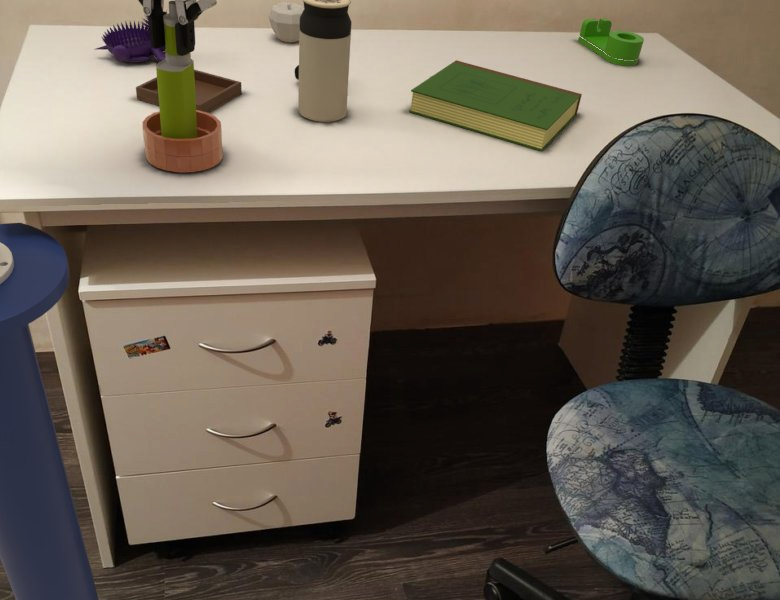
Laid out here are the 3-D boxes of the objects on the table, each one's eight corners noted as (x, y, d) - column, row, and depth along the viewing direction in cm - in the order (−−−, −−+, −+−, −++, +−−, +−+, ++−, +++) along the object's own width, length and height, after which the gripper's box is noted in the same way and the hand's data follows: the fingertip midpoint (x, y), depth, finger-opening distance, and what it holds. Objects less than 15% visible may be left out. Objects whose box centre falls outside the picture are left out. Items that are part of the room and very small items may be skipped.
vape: (201, 146, 118) (194, 1, 105) (184, 163, 113) (175, 12, 100) (177, 141, 118) (168, -4, 105) (159, 157, 114) (147, 7, 101)
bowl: (194, 181, 112) (192, 147, 108) (130, 161, 114) (126, 127, 111) (236, 153, 119) (235, 120, 116) (175, 135, 122) (172, 102, 119)
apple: (311, 47, 156) (312, 11, 152) (271, 46, 155) (271, 10, 150) (305, 33, 162) (306, -2, 158) (266, 32, 160) (266, -3, 156)
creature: (201, 66, 144) (196, -7, 136) (95, 67, 139) (84, -8, 131) (195, 48, 150) (190, -22, 142) (93, 49, 145) (82, -24, 137)
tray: (200, 117, 127) (199, 105, 126) (136, 99, 130) (135, 87, 129) (241, 93, 136) (241, 82, 135) (181, 77, 139) (180, 65, 138)
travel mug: (311, 126, 129) (314, 7, 117) (290, 107, 134) (291, -9, 122) (354, 119, 132) (362, 3, 120) (332, 101, 137) (337, -13, 125)
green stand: (644, 64, 167) (650, 41, 164) (615, 66, 164) (622, 43, 161) (604, 40, 177) (609, 18, 174) (576, 41, 174) (582, 19, 171)
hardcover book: (576, 115, 143) (581, 94, 140) (542, 151, 130) (547, 129, 127) (449, 79, 150) (452, 59, 148) (404, 110, 137) (407, 88, 135)
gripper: (83, -120, 94) (103, 42, 106) (203, -95, 90) (210, 72, 102) (124, -127, 99) (139, 29, 111) (239, -103, 95) (242, 56, 107)
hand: (173, 48), depth 106 cm, fingers closed on vape, 3 cm apart
